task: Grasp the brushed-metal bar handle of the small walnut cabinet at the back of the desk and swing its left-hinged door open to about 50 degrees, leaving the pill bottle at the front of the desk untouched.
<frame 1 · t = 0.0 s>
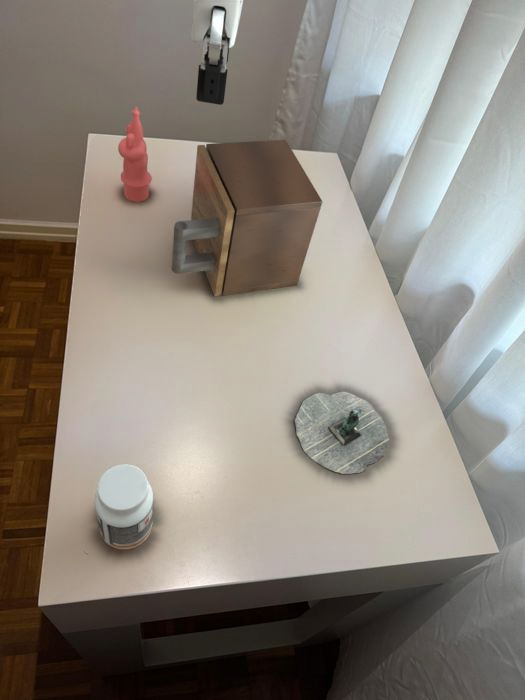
hand: (212, 80, 70), 26 cm above the table, tool pointing down, fingers open, 9 cm apart
pill bottle: (125, 525, 62), on the table
door: (189, 224, 81), point 8 cm above the table, hinge at 0.0°
figurine: (135, 194, 95), on the table
sculpture: (341, 430, 74), on the table
cabinet: (246, 258, 90), on the table
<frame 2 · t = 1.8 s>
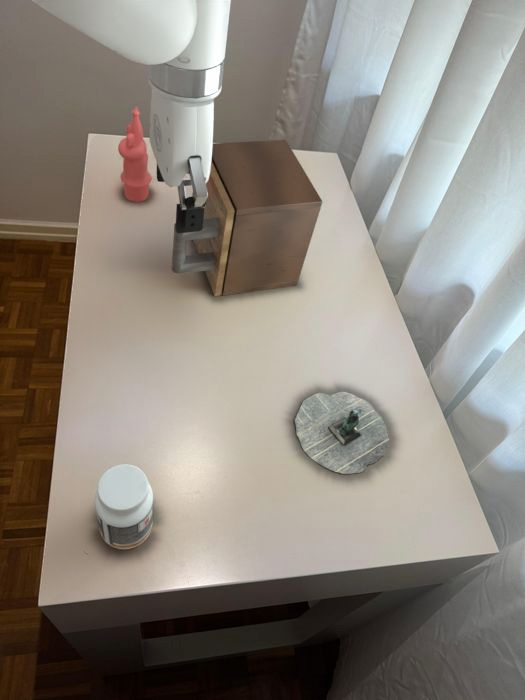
hand: (178, 204, 71), 15 cm above the table, tool pointing down, fingers open, 9 cm apart
nothing on the table moved.
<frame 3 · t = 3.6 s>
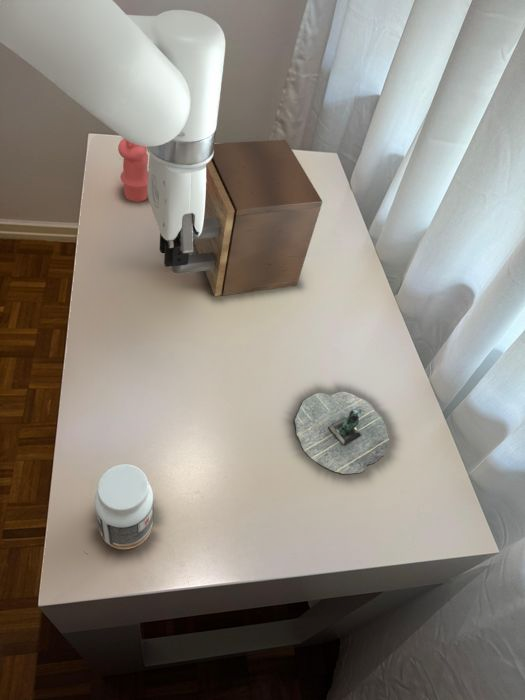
hand: (173, 257, 78), 7 cm above the table, tool pointing down, fingers closed on door, 2 cm apart
door: (189, 224, 81), point 8 cm above the table, hinge at 0.0°, touching gripper
everything else where it was.
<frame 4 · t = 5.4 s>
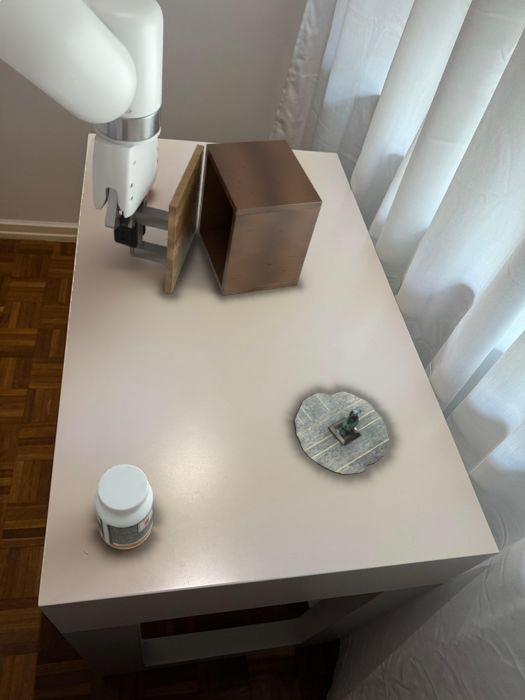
hand: (130, 237, 79), 7 cm above the table, tool pointing down, fingers closed on door, 2 cm apart
door: (163, 215, 81), point 8 cm above the table, hinge at 29.8°, touching gripper
everything else where it was.
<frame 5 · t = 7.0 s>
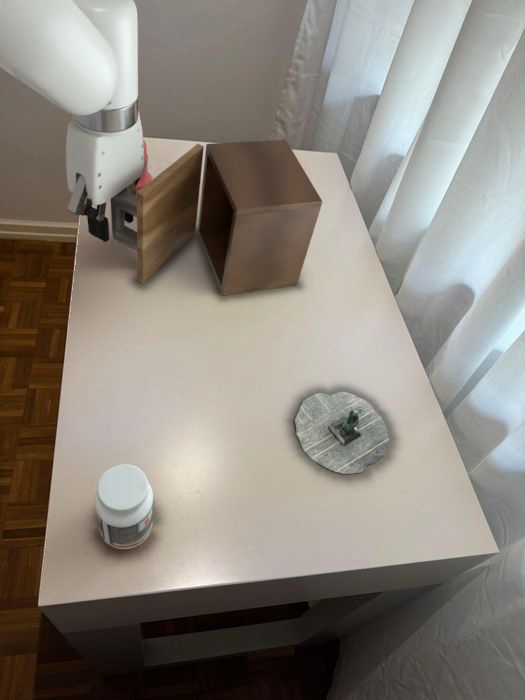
hand: (111, 226, 81), 6 cm above the table, tool pointing down, fingers open, 4 cm apart
door: (152, 206, 82), point 8 cm above the table, hinge at 47.9°
everything else where it was.
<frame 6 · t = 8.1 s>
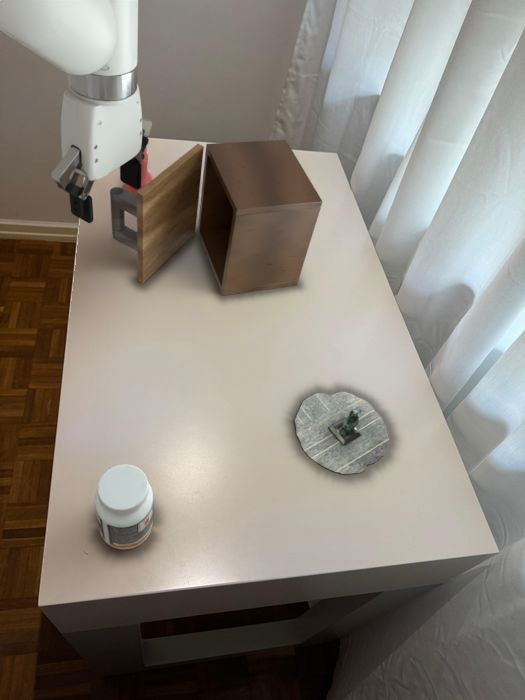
hand: (107, 200, 77), 10 cm above the table, tool pointing down, fingers open, 9 cm apart
nothing on the table moved.
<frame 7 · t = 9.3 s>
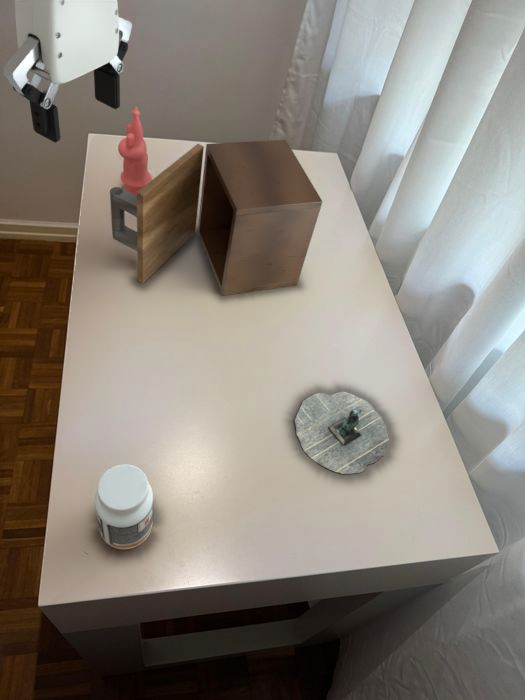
hand: (78, 119, 64), 24 cm above the table, tool pointing down, fingers open, 9 cm apart
nothing on the table moved.
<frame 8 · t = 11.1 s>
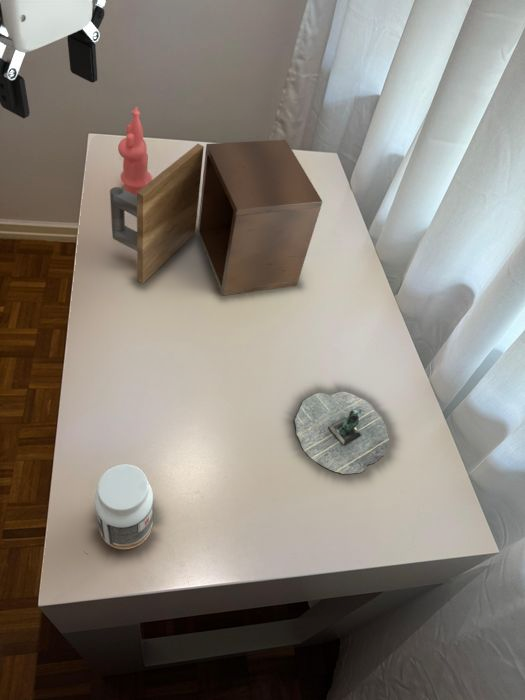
hand: (51, 93, 59), 28 cm above the table, tool pointing down, fingers open, 9 cm apart
nothing on the table moved.
at the end: door at +48° (first picture: +0°); pill bottle moved 0.2 cm from its start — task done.
